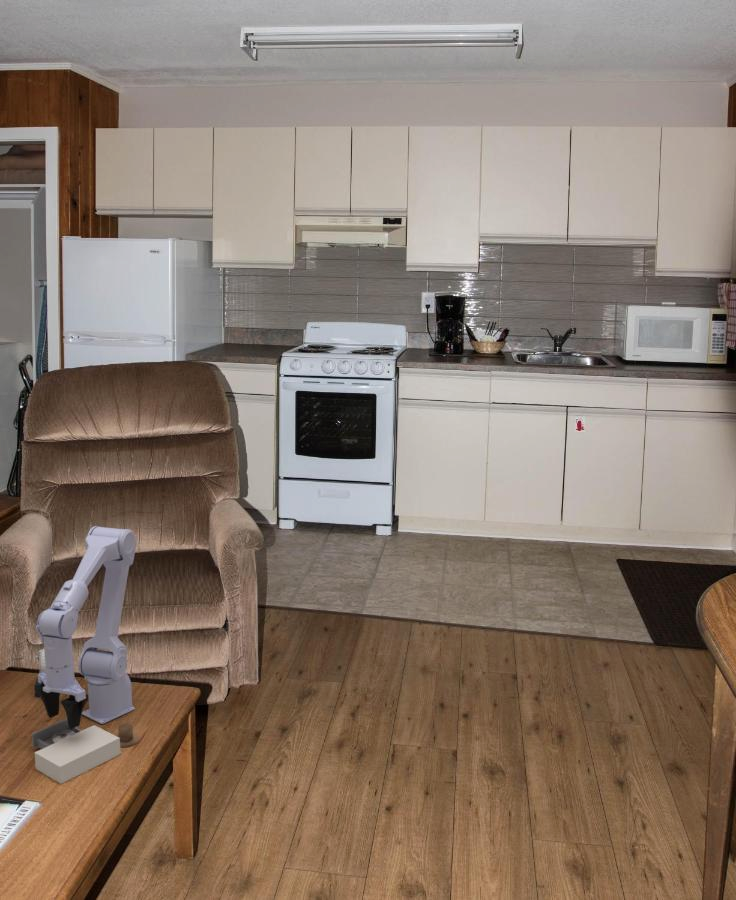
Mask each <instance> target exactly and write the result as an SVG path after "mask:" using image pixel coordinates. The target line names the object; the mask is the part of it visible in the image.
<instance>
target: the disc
mask: <svg viewBox="0 0 736 900" xmlns="http://www.w3.org/2000/svg"><path fill="white" fill-rule="evenodd" d="M74 734H76V733H75V732H74V731H72V730H62V731H58V732H56V733H54V734H53V735H52V744H54V743H56V742H58V741H61V740H63V739H65V738H67V737H69V736H71V735H74Z"/></svg>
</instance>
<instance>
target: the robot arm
mask: <svg viewBox="0 0 736 900" xmlns="http://www.w3.org/2000/svg"><path fill="white" fill-rule="evenodd" d="M137 542H138V540H137V538H136V536H135V534H134V531H133V530H131V529H130V528H125V529H123V528H115V527H113V528H112V527H103V526H99V525H94V526H93V527H91V528H90V529H89V531H88V532H87V535H86V537H85V541H84V543H85V544H84V545H85V552H84V555H83V556H82V558H81V561H80V563H79V565H78V568H77V569H76V572H75V573H74V575H73V577H72V579H70V580H67V581H65V582H64V583H63V585H62V586H61V589H60V590H59V591H58V593H57V595H56V596H55V599H54V600H53V602H52V604H51V605H50V607H49V608H46V610H45V609H44V610H43V611H42V612H40V614H39V616H38V618H37V621H36V626H35V630H36V633H37V634H38V635H39V637H40V642H41V643H42V644H43V647H44V648H43V649H44V652H45V665H46V671H45V672H43V673H40V674H39V673H38V674H37V678H38V682H39V683H42V685H41V686H39V687H37V688H36V692H37V693H38V694H39V696H40V697H39V698H40V699H41V701H42V703H43V705H44V708H45V712H46V714H47V716H48V718H49V719H51V718H54V717H55V716H58V715H59V713H60V703H61V705H62V707H63V709H64V711H65V714H66V718H67V720H68V725H69V728H71V729H73V728H75V727H79V726H80V722H81V720H82V719H81V718H82V716H84V717H86V718H89V719H90V720H92V721H94V722H96V723H99V724H100V725H104V724H107V723H109V722H110V721H113V720H115V719H117V718H119V717H121V716H124V715H125V714H128V713H129V712H131V711H134V710H135V709H136V708H135V706H133V693H132V682H131V681H132V680H131V679H130V676H129V675H128V673H126V671H127V667H128V660H127V658H128V657H127V653H128V647H127V646H126V645H125V644H124V643H123V642H122V641H121V639H119V631H120V624H121V618H122V611H123V606H124V600H125V595H126V588H127V582H128V575H129V570H130V566H132V565H134V559H135V553H136V547H137ZM102 565H103V567H104V568H105V572H104V580H103V585H102V590H101V591H102V592H101V597H100V601H99V602H100V604H99V609H98V615H97V621H96V626H95V632H94V633H95V634H94V636H92V637H91V638H89V639H88V640H86V641H85V642H84V643H83V647H82V652H81V654H80V655H79V658H78V661H77V667H78V671H79V673H80V675H82V676H84V678H83V679H84V681H87V693H86V690H85V689H83V688H82V686H81V685H80V684H79V682H78V680H77V679H76V678H75V677H76V676H75V666H74V650H73V638H72V637H73V635H74V633H75V632H76V630H77V625H78V620H79V617H80V615H79V613H80V610H81V609H82V607H83V606H84V604H85V602H86V600H87V598H88V596H89V595H90V594H89V589H88V586H89V585H90V583H91V582H92V580H93V579H94V577H95V576H96V574H98V573H97V572H98V571H99V570H100V569H101V567H102ZM100 649H101V650H100ZM61 694H63V695H67V696H68V697H66V698H64V699H62V700H61V701H60V695H61ZM87 702H88V709H86V710H84V708H85V705H86V703H87ZM83 710H84V711H83Z"/></svg>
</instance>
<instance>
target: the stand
mask: <svg viewBox="0 0 736 900" xmlns="http://www.w3.org/2000/svg"><path fill="white" fill-rule="evenodd" d="M117 729H118V734H117V735H116V736H117V737H119V738H120V749H121V748H123V749H125V748H131V747H134V746H135V745H137V744H138V743H139V742H140V736H139V735H138V734H137V733H135V732H133V731H134V729H133V724H132V723H128V722H126V723H122V724H119V725H118V728H117Z"/></svg>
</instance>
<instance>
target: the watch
mask: <svg viewBox="0 0 736 900" xmlns="http://www.w3.org/2000/svg"><path fill="white" fill-rule="evenodd" d="M35 660H38V662H39V664H38V665H39V667H38V668H39V672H38V674H40V673H43V672H45V671H46V665H45V652H44V648H43V649H40V650H39V651H37V655H35ZM41 685H42V683H39V682H38V677H37V678H36V681H35V683H34V697H35V698H41V697H40V696H39V694H38V693H37V692H36V688H37V687H39V686H41Z"/></svg>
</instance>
